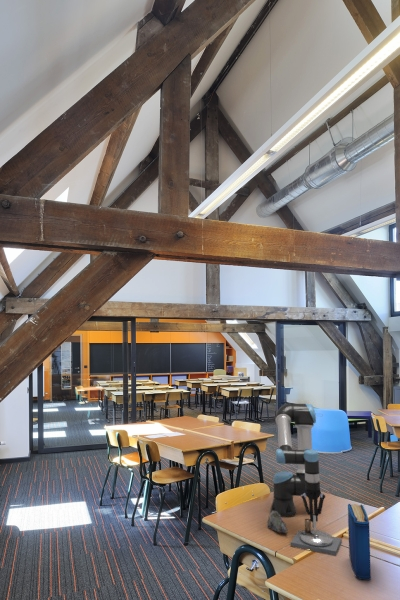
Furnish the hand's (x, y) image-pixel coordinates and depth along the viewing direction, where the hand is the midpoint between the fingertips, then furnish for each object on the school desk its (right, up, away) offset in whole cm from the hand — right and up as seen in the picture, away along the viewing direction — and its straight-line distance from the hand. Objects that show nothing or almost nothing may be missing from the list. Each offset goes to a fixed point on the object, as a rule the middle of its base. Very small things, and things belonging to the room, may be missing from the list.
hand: (314, 528), depth 229 cm
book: (+12, -2, -32) cm, 34 cm away
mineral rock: (-18, -7, +9) cm, 21 cm away
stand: (-1, -5, -7) cm, 8 cm away
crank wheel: (-1, -3, -6) cm, 7 cm away
